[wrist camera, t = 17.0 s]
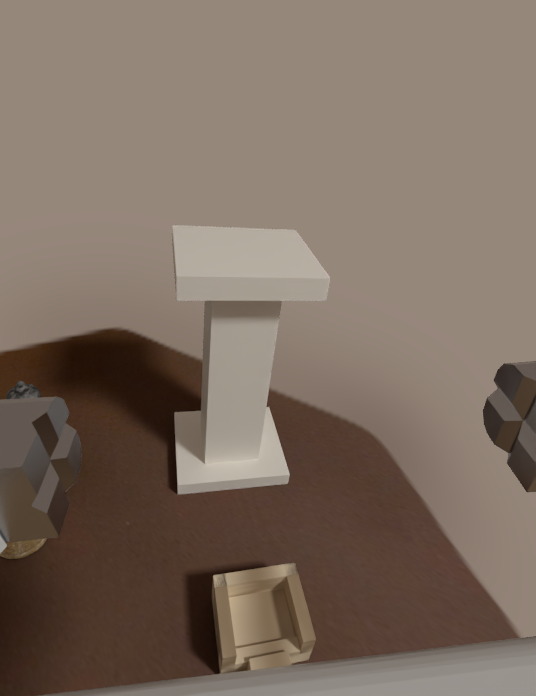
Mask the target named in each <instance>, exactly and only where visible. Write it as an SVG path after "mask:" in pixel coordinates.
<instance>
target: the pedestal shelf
mask: <svg viewBox="0 0 536 696" xmlns="http://www.w3.org/2000/svg"><path fill="white" fill-rule="evenodd" d="M172 235H173V236H172V237H173V239H172V241H173V258H174V270H175V271H174V272H175V284H176V298H177V301H179V300H180V301H196V300H197V301H201V300H202V301H205V312H204V314H205V315H204V341H203V368H202V396H201V411H188V412H174V423H175V446H176V468H177V490H178V494H188V493H198V492H209V491H219V490H229V489H239V488H249V487H259V486H269V485H279V484H288V480H289V476H290V474H289V471H288V468H287V464H286V461H285V458H284V454H283V451H282V448H281V445H280V441H279V438H278V435H277V431H276V428H275V425H274V422H273V418H272V415H271V412H270V408H269V407H266V405H267V398H268V391H269V385H270V378H271V371H272V364H273V357H274V350H275V343H276V336H277V330H278V323H279V315H280V308H281V302H282V301H326V299H327V294H328V289H329V284H330V280H331V278H330V277H329V275H328V274H327V273H326V271H325V270H324V269H323V267H322V266H321V264H320V263H319V262H318V260H317V259H316V257H315V256H314V255H313V253H312V252H311V251H310V249H309V248H308V246H307V245H306V244H305V242H304V241H303V240H302V238H301V237H300V235H299V234H298V233H297V231H296V230H281V229H256V228H232V227H206V226H181V225H173V226H172Z"/></svg>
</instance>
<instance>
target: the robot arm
mask: <svg viewBox="0 0 536 696" xmlns="http://www.w3.org/2000/svg"><path fill="white" fill-rule="evenodd" d="M494 382H495V384H496V385H497V387H498V389H497V390H496V391H494V392H493V393H492V394H491V395H490V396H489V397H488V398H487V400H486V403H485V406H484V409H483V417H484V425H485V428H486V431H487V433H488V435H489V437H490V438H491V440H492V441H493V443H494V445H496V446H498V447H499V448H501V449H503V450H504V451H506V452H508V460H507V464H508V465H509V467H510V468H511V470H512V471H513V472H514V474H515V475H516V477H517V478H518V480H519V481H520V483H521V484H522V486H523V487H524V489H525V490H526V492H536V361H532V362H519V363H507V364H503V365H502V366H501V367H500V368H499V369H498V371H497V374H496V376H495V378H494ZM68 415H69V411H68V409H67V406H66V404H65V402H64V400H63V399H61V398H59V397H43V398H24V399H4V400H0V553H1V552H2V551H3V550H4V549H5V548H6V547H7V544H6V543H12V542H20V541H28V540H37V539H45V538H53V537H59V535H60V532H61V529H62V526H63V523H64V519H65V516H66V513H67V510H68V507H69V504H70V501H69V499H68V497H67V495H66V493H65V491H66V490H67V489H69V488H70V487H71V486H72V485H73V484H74V483H75V482H76V481H77V478H78V475H79V471H80V468H81V454H82V451H81V444H80V439H79V436H78V434H77V431H76V430H75V429H73V428H72V427H70V426H69V425H67V424H66V420H67V418H68ZM38 696H536V636H534V637H525V638H517V639H508V640H500V641H492V642H483V643H475V644H466V645H458V646H450V647H441V648H433V649H424V650H416V651H408V652H399V653H391V654H382V655H374V656H366V657H357V658H349V659H340V660H332V661H324V662H315V663H307V664H298V665H290V666H281V667H273V668H265V669H256V670H248V671H239V672H231V673H223V674H214V675H206V676H197V677H189V678H181V679H172V680H164V681H155V682H147V683H139V684H130V685H122V686H113V687H105V688H97V689H88V690H80V691H71V692H63V693H55V694H46V695H38Z"/></svg>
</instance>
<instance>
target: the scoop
mask: <svg viewBox="0 0 536 696" xmlns="http://www.w3.org/2000/svg"><path fill="white" fill-rule="evenodd" d="M212 606H213V616H214V625H215V634H216V644H217V653H218V662H219V671H220V674H223V673H231V672H239V671H248V670H256V669H265V668H273V667H281V666H290V665H292V664H291V663H295V662H300V661H305V660H309V657H310V654H311V652H312V649H313V646H314V644H315V641H316V638H315V634H314V630H313V627H312V623H311V619H310V616H309V612H308V608H307V605H306V601H305V597H304V594H303V590H302V586H301V583H300V579H299V576H298V572H297V568H296V565H295V563H290V564H283V565H277V566H270V567H264V568H257V569H251V570H244V571H238V572H231V573H225V574H218V575H213V584H212Z"/></svg>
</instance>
